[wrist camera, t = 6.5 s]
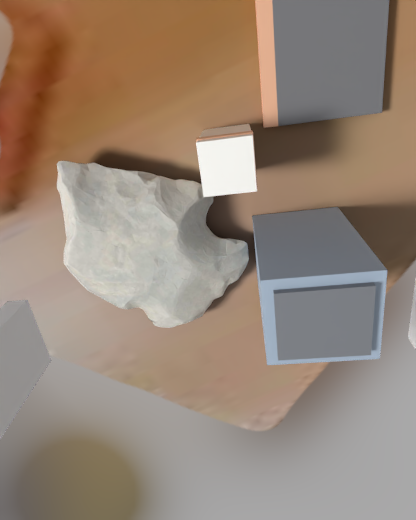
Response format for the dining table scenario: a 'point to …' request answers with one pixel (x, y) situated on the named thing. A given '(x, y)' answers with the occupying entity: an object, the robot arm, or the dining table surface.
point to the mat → (321, 59)
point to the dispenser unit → (317, 288)
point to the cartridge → (227, 160)
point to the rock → (145, 242)
